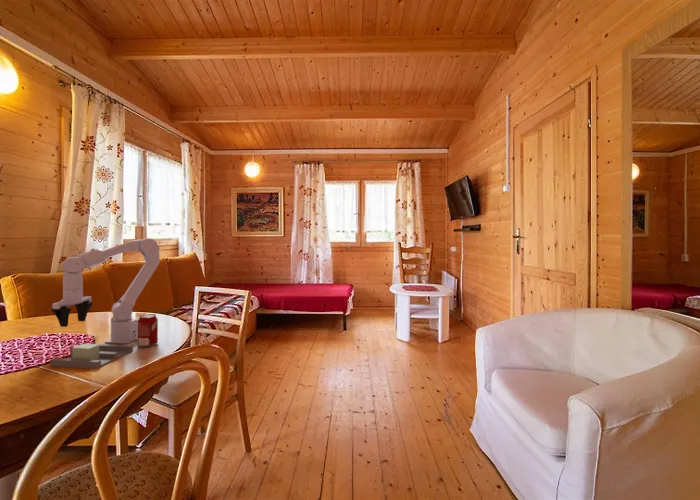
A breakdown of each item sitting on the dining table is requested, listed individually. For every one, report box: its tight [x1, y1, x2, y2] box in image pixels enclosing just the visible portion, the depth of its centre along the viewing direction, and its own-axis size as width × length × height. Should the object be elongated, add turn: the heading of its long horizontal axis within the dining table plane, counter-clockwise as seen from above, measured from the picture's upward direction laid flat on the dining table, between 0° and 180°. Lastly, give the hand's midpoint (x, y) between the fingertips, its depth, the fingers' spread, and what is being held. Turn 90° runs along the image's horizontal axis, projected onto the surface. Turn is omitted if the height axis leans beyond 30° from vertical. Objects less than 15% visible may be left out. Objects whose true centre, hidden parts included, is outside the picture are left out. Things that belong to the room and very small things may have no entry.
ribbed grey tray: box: [50, 343, 134, 369], centre depth 112 cm, size 16×16×2 cm
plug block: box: [71, 343, 99, 360], centre depth 109 cm, size 6×4×5 cm, turn 88°
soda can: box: [137, 313, 159, 348], centre depth 127 cm, size 7×7×12 cm
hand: (73, 323), depth 121 cm, fingers open, 7 cm apart
